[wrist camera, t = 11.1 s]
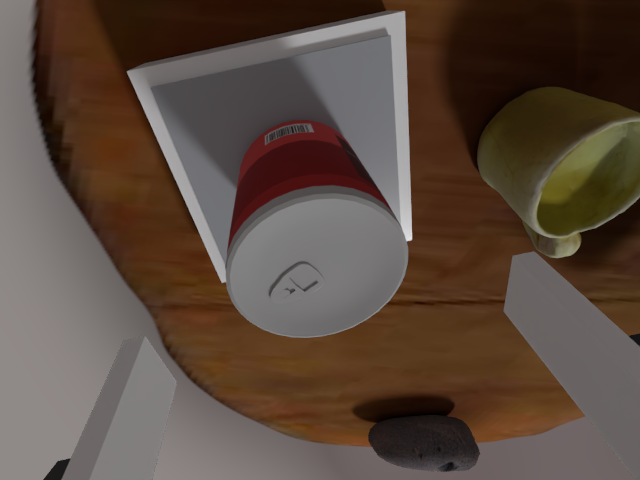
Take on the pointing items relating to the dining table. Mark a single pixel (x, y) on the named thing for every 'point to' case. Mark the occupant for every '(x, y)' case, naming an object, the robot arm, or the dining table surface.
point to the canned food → (310, 235)
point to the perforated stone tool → (425, 443)
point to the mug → (562, 163)
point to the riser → (280, 110)
